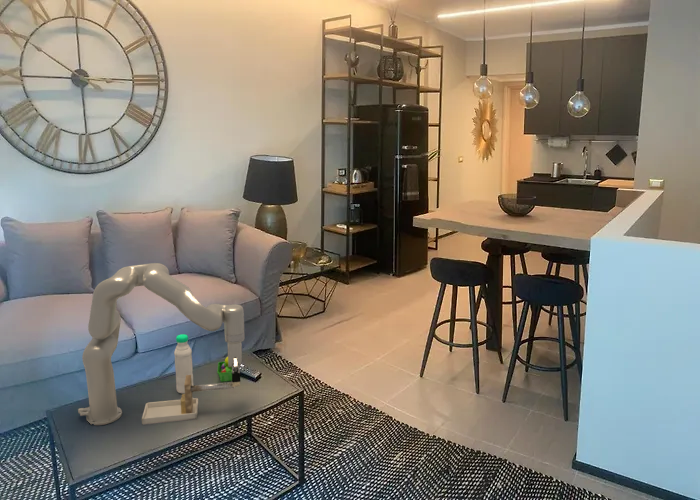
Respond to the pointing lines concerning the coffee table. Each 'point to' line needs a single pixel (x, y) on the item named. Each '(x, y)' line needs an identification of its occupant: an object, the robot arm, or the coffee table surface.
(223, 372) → the fruit basket
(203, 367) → the coffee table surface
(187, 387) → the shaft post
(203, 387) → the steel shaft
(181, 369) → the water bottle
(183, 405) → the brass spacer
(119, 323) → the robot arm
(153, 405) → the tray
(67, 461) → the coffee table surface
